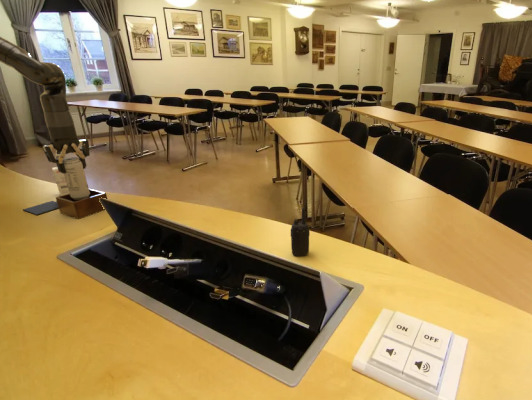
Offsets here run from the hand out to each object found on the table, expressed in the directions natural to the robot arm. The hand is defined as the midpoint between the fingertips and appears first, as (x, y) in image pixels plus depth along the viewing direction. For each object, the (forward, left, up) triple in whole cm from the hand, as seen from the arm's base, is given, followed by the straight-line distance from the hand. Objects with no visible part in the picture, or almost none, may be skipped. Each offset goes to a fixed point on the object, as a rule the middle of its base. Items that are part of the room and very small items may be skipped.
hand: (73, 170), depth 118 cm
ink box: (+9, +26, -16) cm, 32 cm away
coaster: (-6, +16, -16) cm, 23 cm away
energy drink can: (0, 0, -11) cm, 11 cm away
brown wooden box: (0, 0, -16) cm, 16 cm away
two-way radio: (+10, -90, -16) cm, 92 cm away
